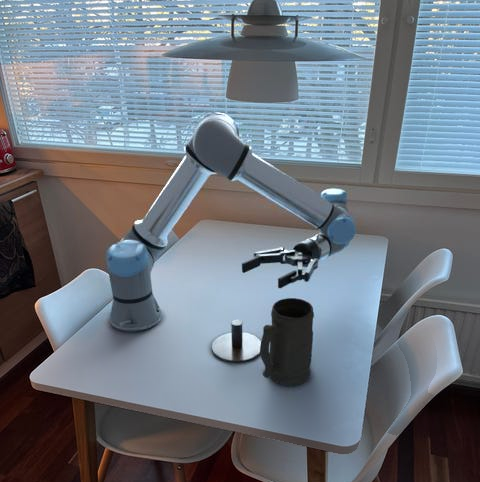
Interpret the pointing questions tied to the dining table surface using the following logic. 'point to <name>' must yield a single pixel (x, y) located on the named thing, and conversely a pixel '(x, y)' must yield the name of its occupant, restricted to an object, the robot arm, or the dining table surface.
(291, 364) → the beer stein
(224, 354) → the lid
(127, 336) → the dining table surface
